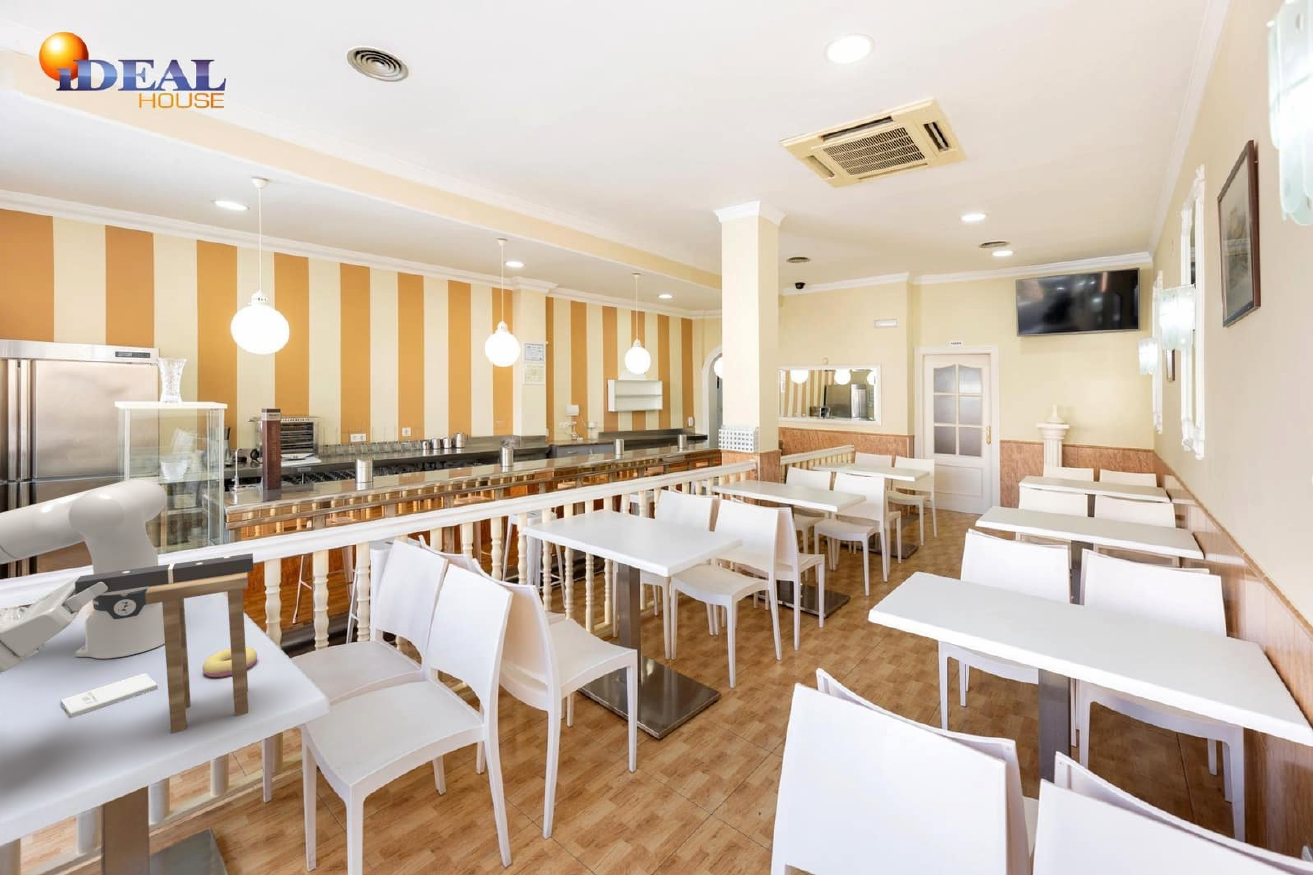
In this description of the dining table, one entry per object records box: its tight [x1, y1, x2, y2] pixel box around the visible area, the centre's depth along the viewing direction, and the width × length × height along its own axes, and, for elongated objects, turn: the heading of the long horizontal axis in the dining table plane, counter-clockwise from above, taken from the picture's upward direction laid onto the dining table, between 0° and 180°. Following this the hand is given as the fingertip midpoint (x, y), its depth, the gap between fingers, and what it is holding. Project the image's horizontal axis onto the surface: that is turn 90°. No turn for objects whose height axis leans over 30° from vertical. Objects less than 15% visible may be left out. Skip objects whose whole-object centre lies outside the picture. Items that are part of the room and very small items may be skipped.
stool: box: [145, 572, 249, 734], centre depth 105 cm, size 12×14×26 cm
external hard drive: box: [59, 672, 158, 719], centre depth 111 cm, size 2×8×12 cm
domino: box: [75, 552, 255, 595], centre depth 101 cm, size 4×24×3 cm, turn 126°
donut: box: [202, 646, 258, 678], centre depth 122 cm, size 10×5×9 cm
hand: (108, 580), depth 97 cm, fingers closed on domino, 4 cm apart
